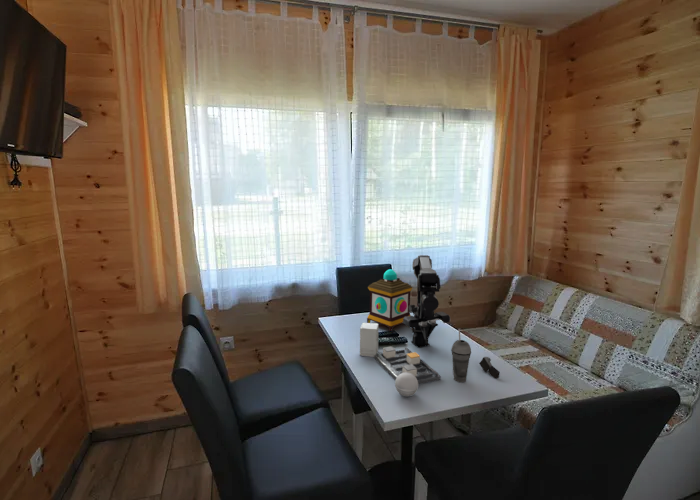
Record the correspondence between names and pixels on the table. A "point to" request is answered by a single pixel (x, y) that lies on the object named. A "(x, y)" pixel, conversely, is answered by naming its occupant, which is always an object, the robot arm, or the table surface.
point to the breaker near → (410, 369)
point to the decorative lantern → (389, 300)
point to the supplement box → (368, 339)
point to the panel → (396, 364)
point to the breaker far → (389, 352)
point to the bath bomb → (406, 384)
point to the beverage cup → (460, 359)
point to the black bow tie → (489, 367)
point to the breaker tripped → (413, 358)
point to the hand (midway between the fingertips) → (426, 339)
